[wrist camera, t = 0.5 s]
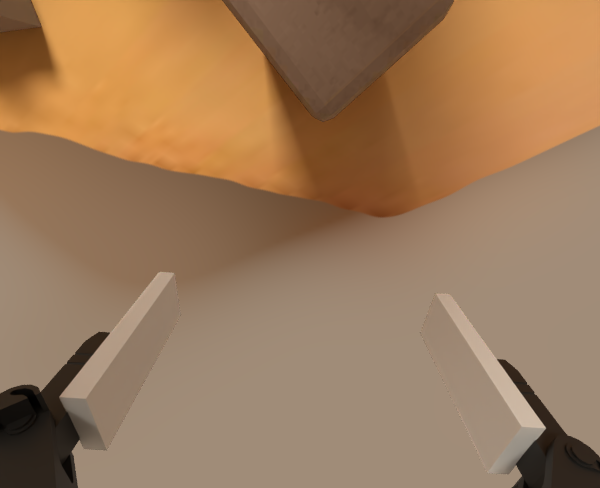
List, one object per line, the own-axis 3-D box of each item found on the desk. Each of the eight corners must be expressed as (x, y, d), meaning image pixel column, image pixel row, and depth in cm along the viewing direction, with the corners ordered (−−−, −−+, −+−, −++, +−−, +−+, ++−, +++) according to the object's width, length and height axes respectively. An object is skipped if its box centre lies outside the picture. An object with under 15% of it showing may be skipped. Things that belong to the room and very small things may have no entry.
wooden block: (313, 113, 36) (322, 130, 19) (257, 41, 33) (202, -25, 15) (380, 51, 33) (468, -1, 16) (326, -36, 30) (358, -229, 12)
